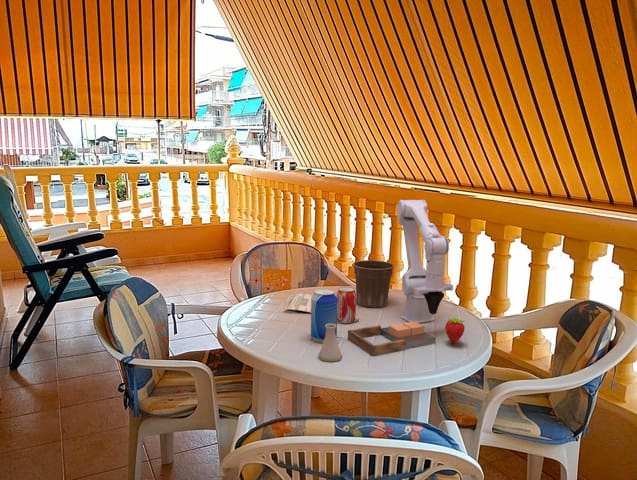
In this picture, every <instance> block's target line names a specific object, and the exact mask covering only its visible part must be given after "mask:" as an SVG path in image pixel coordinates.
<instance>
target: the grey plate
mask: <svg viewBox="0 0 637 480" xmlns="http://www.w3.org/2000/svg"><path fill="white" fill-rule="evenodd" d="M380 336H382V337H384V338H385V339H387V340H388V341H389V342H393V341H398V340H406V350H407V349H412V348H417V347H423V346H427V345H432V344H436V339H437V338H436V336H434V335H432V334H430V333H428V332H426V331H425V330H424V333H422V334H416V335H411V336H405V337H400V338H397V337H395V336H394V335H392V334H390V333H389V326H387V327H381V335H380Z"/></svg>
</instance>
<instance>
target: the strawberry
mask: <svg viewBox="0 0 637 480" xmlns="http://www.w3.org/2000/svg"><path fill="white" fill-rule="evenodd" d="M458 315H459V314H457V315H456V316H455V317H452V318H449V319H448V320H447V322H446V323H445V333H446V336H447V338H448V339H449V340H450V343H451V344H452V345H455V344H456V343H457V342H459V340H461V339H460V338H462V336H463V335H464V332H465V324H464V323H465V320H461V319H460V318H457V317H458Z"/></svg>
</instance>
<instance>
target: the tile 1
mask: <svg viewBox="0 0 637 480" xmlns="http://www.w3.org/2000/svg"><path fill="white" fill-rule="evenodd" d="M388 327H389V333H390V334H392V335H394V336H395V337H397V338H400V337H405V336H411V328H409V327H407V326H405V325H404V324H403V323H397V324H392V325H389V326H388Z"/></svg>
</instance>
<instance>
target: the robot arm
mask: <svg viewBox="0 0 637 480" xmlns="http://www.w3.org/2000/svg"><path fill="white" fill-rule="evenodd" d="M396 213H397V214H396V215H397V221H398V224H399V225H400V226H402V230H403V235H404V243H405V244H404V245H405V252H406V259H407V265H408V270H407V271H406V272H405V273H403V275H402V277H401V280H402V283H401V290H402V292H403V294H404V296H406V299H405V302H406V303H405V315H401V316H400V318H401V319H403V320H405V321H407V323H408V322H414V321H416V322H418V323H420V324H421V323H426V322H432V321H435V319H434V315H436V314H437V312H438V308H439V306H440V303H442V300H443V299H444V298H445V293H444V292H445V291H450V292H452V291H453V290H454V284H452V283H444V277H445V261H446V260H445V259H446V255H447V254H448V252H449V250H450V248H449V247H450V246H449V245H450V244H449V239H448V238H447V237H446V236H444V235H441V234H440V232H439V230H438V228H437V227H436V225H435V224H434V223H432V222H431V221H430V219H429V217H428V214H427V213H428V203H427V202H426V200H425V199H407V200H406V199H400V200H399V201H398V202H397V207H396ZM418 226H419V230H418V228H417V227H418ZM418 232H419V233H418ZM419 234H420V237H421V238H422V240H423V243H424V246H423V247H424V253H425V254H424V255H425V256H424V259H425V260H426V268H425V269H426V270H425V269H424V268H423V264H422V256H421V249H420V241H419V237H418V235H419Z"/></svg>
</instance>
